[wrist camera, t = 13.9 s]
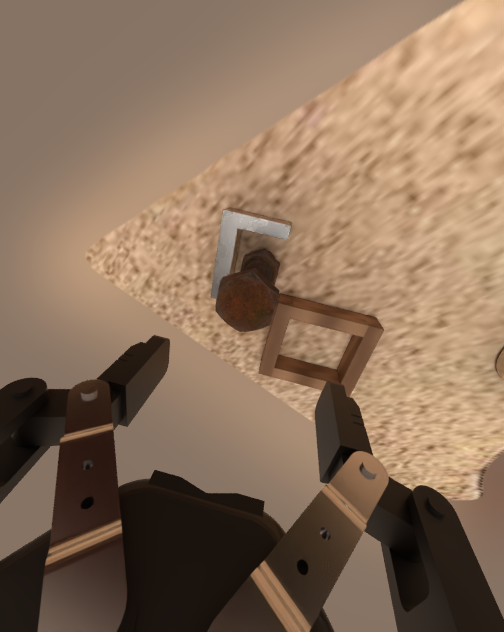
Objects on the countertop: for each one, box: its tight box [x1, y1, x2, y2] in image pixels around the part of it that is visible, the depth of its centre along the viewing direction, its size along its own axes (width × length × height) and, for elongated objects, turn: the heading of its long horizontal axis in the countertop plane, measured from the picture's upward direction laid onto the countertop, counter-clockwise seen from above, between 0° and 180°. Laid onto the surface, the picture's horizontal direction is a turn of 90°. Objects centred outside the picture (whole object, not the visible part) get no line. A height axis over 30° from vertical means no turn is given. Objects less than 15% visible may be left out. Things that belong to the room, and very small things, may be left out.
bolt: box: [216, 249, 280, 332], centre depth 29 cm, size 6×5×15 cm
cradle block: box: [211, 208, 291, 299], centre depth 34 cm, size 8×11×4 cm
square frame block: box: [259, 294, 384, 397], centre depth 38 cm, size 14×12×4 cm
